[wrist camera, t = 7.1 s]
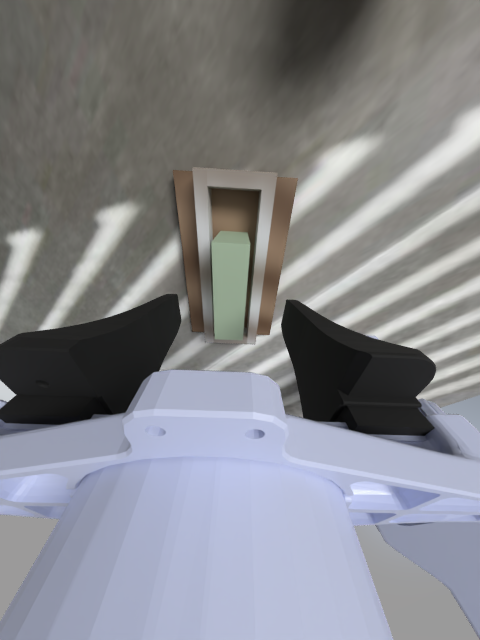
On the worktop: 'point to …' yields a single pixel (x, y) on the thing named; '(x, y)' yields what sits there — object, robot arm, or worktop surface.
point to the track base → (238, 216)
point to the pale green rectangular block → (230, 283)
